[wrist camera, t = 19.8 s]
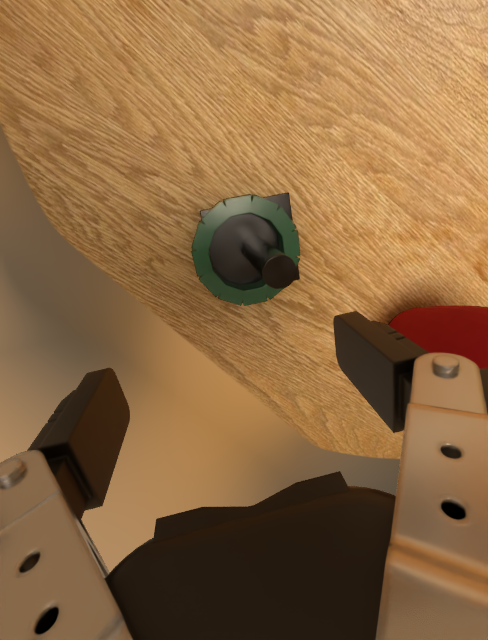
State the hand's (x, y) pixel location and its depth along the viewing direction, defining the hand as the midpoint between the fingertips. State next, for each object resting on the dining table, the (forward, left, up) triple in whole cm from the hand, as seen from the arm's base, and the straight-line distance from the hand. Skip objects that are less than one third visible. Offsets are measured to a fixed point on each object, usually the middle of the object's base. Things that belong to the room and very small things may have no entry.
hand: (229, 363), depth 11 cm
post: (+4, 0, -24) cm, 24 cm away
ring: (+3, 0, -23) cm, 23 cm away
